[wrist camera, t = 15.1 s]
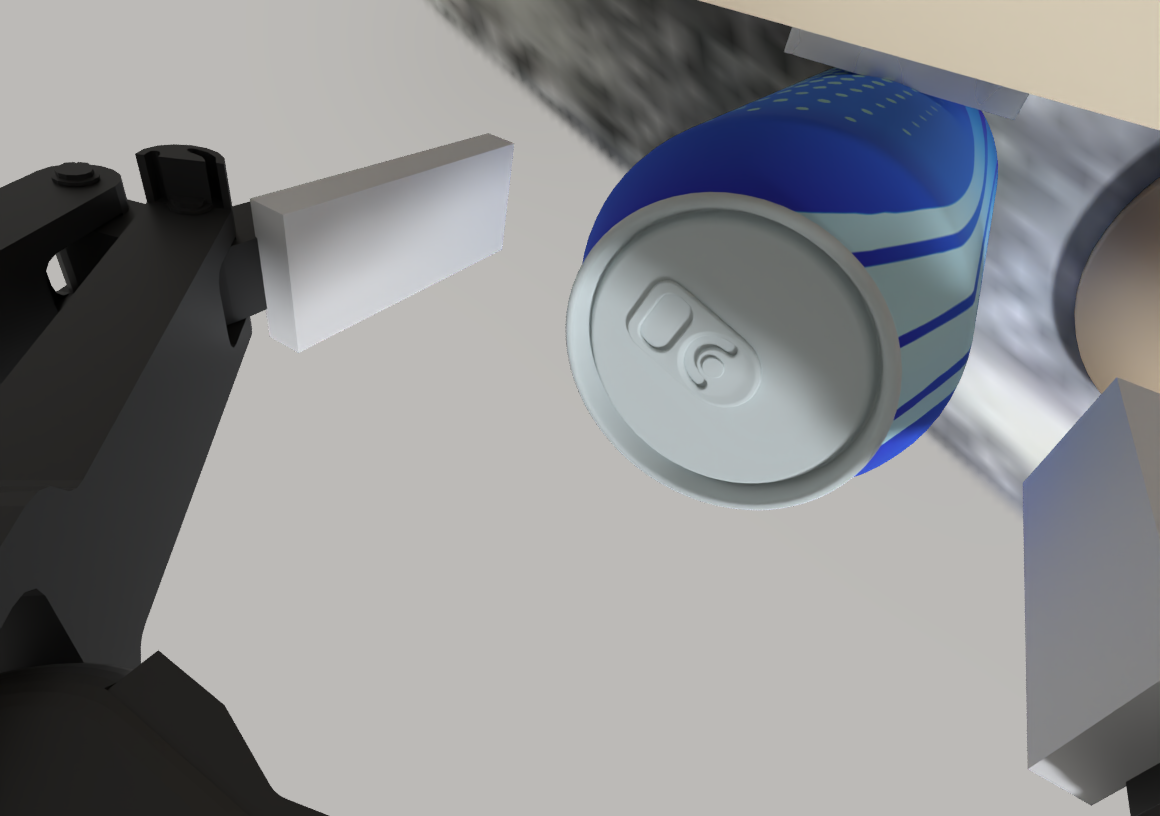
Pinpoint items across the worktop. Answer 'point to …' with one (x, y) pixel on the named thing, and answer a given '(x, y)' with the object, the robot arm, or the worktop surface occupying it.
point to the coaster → (1123, 298)
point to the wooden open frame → (1005, 43)
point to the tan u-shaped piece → (907, 73)
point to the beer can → (786, 289)
